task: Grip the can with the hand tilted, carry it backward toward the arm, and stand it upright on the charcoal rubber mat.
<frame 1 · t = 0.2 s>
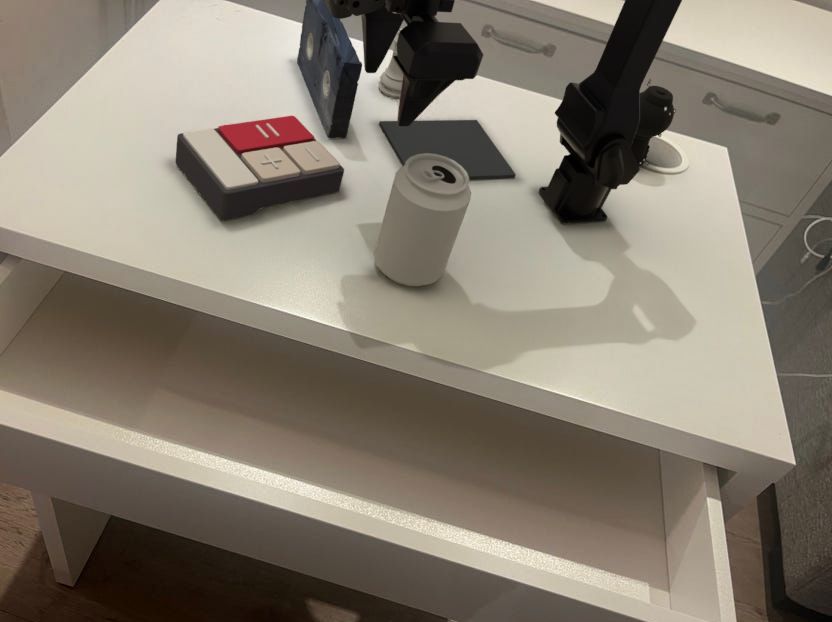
hand: (385, 97, 72), 15 cm above the table, tool pointing down, fingers open, 9 cm apart
vhs cassette tape: (320, 100, 98), on the table
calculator: (258, 179, 85), on the table
rook chess piece: (393, 91, 103), on the table
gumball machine: (626, 160, 103), on the table
can: (406, 268, 80), on the table
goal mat: (445, 150, 96), on the table
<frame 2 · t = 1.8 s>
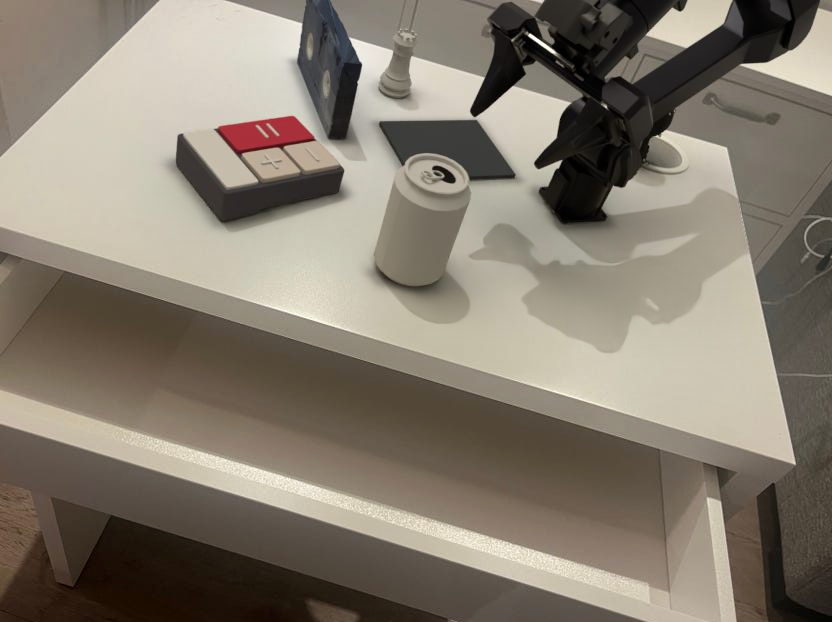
hand: (502, 139, 74), 13 cm above the table, tool tilted 45°, fingers open, 9 cm apart
nothing on the table moved.
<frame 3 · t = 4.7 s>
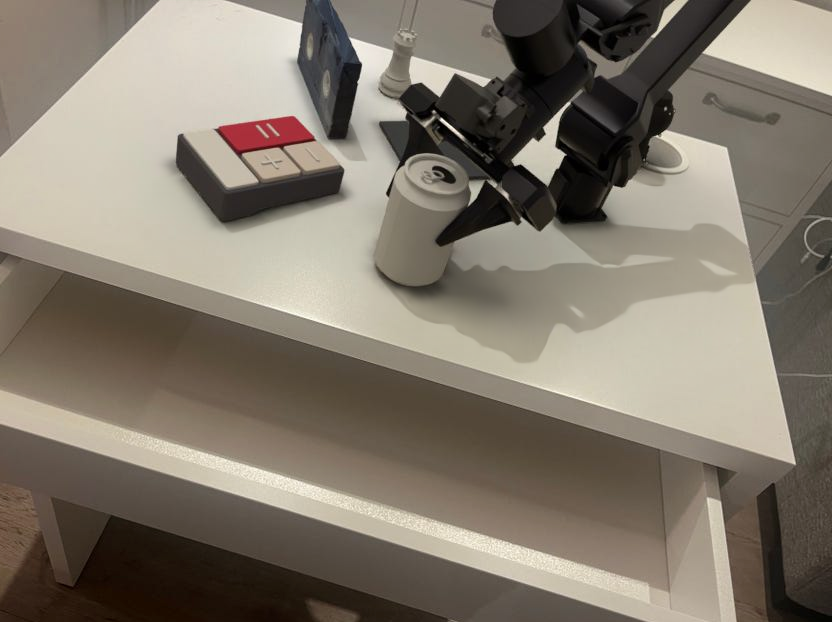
hand: (412, 220, 74), 7 cm above the table, tool tilted 45°, fingers closed on can, 7 cm apart
can: (406, 268, 80), on the table, touching gripper
everything else where it was.
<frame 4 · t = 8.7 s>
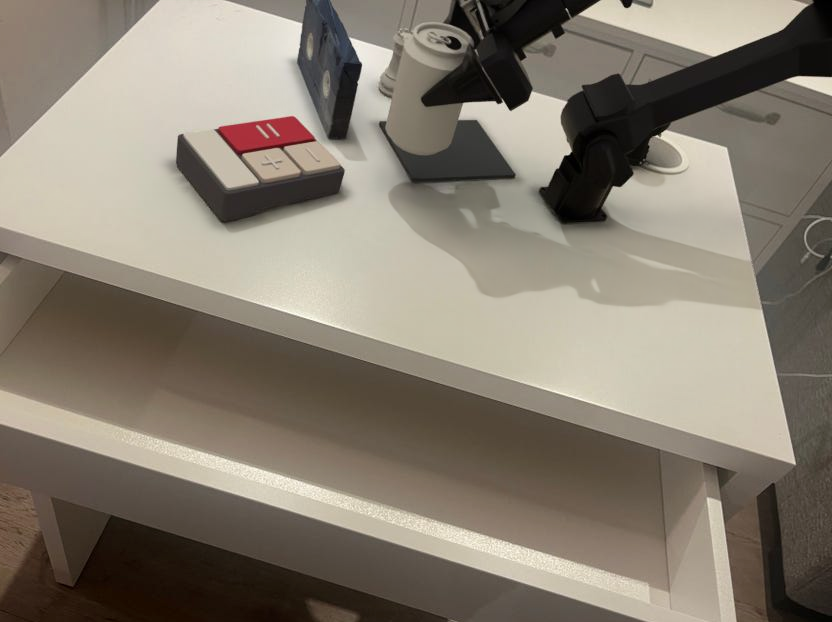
hand: (418, 82, 79), 13 cm above the table, tool tilted 45°, fingers closed on can, 7 cm apart
can: (416, 141, 85), point 6 cm above the table, touching gripper
everything else where it was.
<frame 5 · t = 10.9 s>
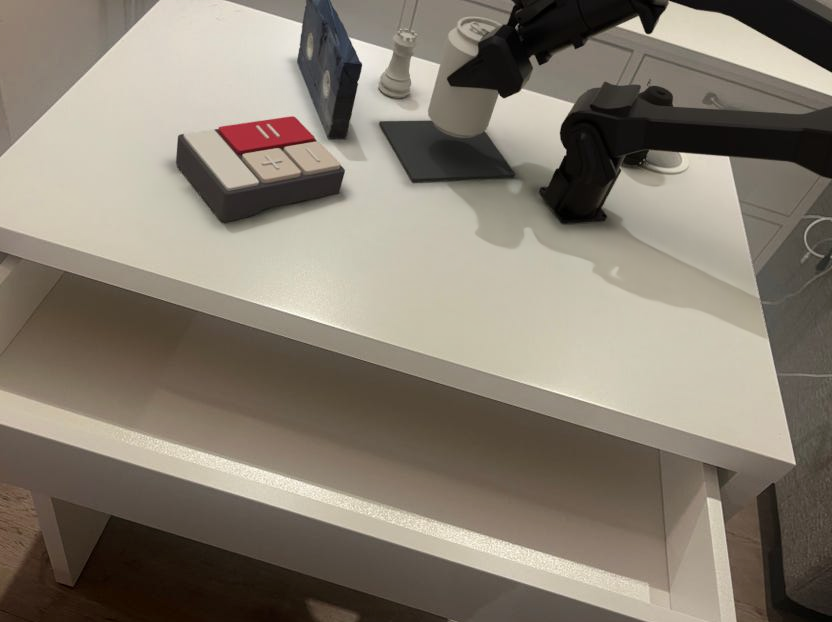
hand: (460, 69, 88), 10 cm above the table, tool tilted 45°, fingers closed on can, 7 cm apart
can: (455, 125, 93), point 4 cm above the table, touching gripper
everything else where it was.
when the fingers open (7 cm above the table, at t = 12.5 s): can stays where it is, resting on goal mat.
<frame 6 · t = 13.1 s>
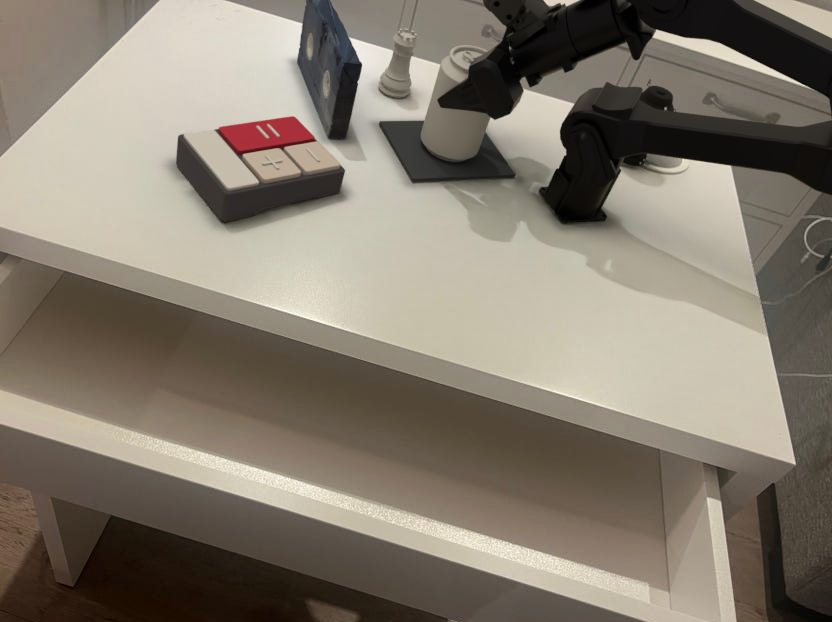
hand: (453, 87, 90), 8 cm above the table, tool tilted 45°, fingers open, 9 cm apart
can: (447, 149, 95), resting on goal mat
everything else where it was.
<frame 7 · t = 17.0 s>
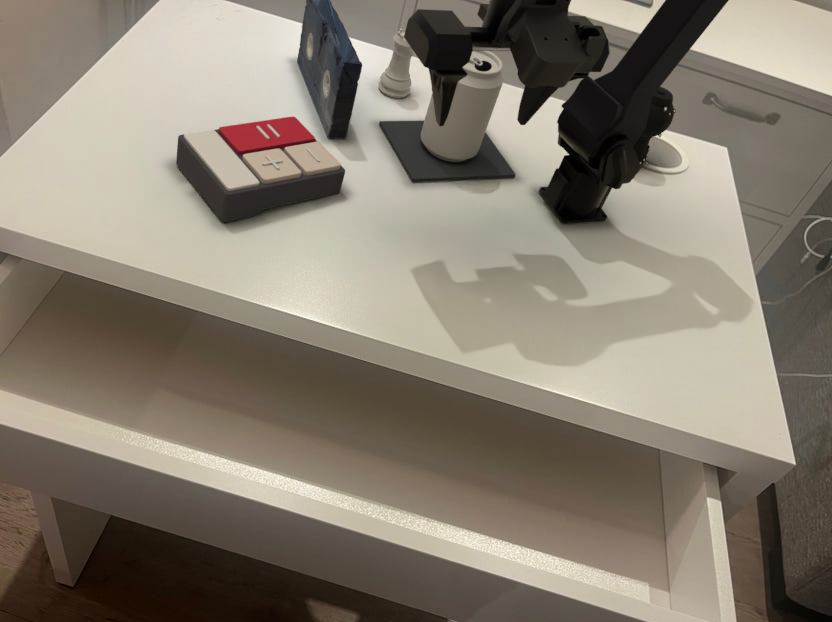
hand: (480, 123, 76), 13 cm above the table, tool pointing down, fingers open, 9 cm apart
nothing on the table moved.
at the end: can inside the target area on the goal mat (0.1 cm from its centre), point 0.3 cm above the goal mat's base; can tilted 0°; the gripper is holding nothing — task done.
